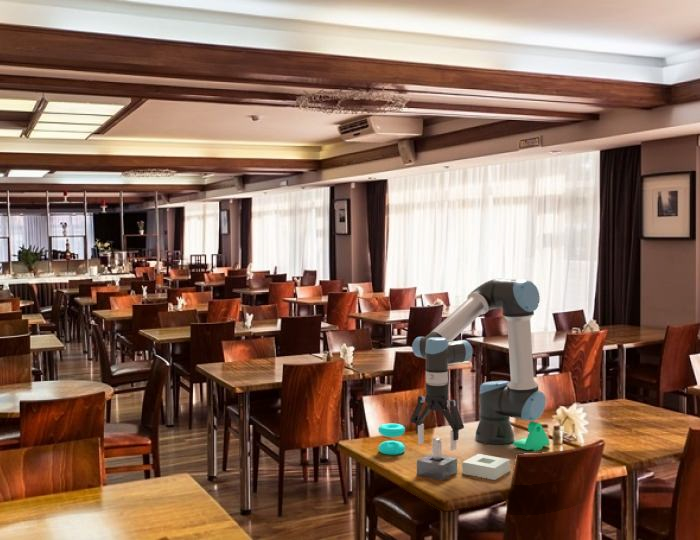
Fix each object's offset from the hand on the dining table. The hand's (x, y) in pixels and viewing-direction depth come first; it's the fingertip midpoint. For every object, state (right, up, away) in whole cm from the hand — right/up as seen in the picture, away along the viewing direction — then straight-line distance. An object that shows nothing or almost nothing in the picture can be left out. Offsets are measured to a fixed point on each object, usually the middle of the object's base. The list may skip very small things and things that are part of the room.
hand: (436, 446), depth 254 cm
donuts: (-14, -9, +27) cm, 31 cm away
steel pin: (0, -9, 0) cm, 9 cm away
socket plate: (+17, -9, +1) cm, 19 cm away
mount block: (0, -9, 0) cm, 9 cm away
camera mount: (+39, -8, +31) cm, 51 cm away
